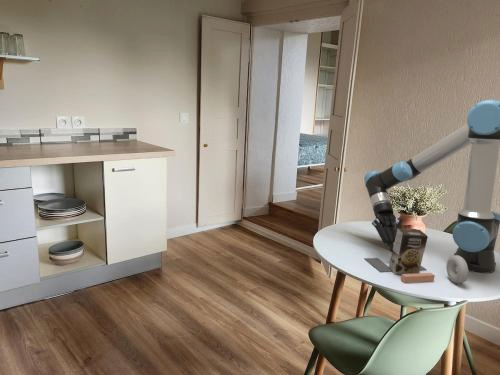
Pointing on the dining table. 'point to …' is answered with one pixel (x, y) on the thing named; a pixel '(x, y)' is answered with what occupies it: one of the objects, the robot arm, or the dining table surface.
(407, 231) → the coffee box
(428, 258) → the dining table surface
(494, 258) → the robot arm
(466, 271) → the donut
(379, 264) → the pads
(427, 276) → the tan rectangular bar
